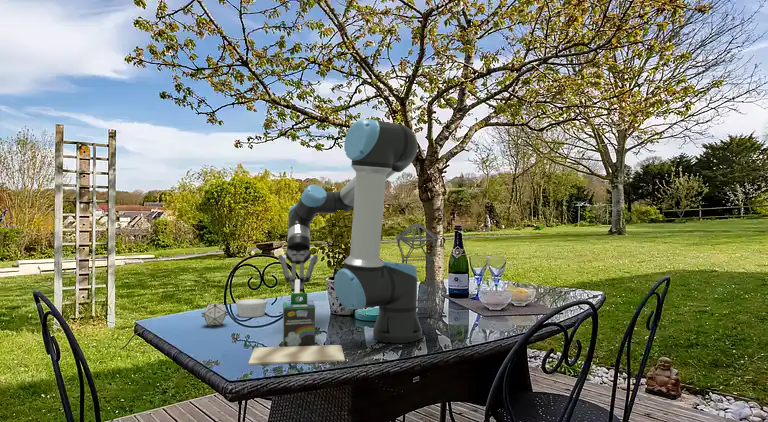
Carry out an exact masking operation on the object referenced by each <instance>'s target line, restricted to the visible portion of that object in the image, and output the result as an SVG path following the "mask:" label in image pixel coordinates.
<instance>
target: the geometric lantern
mask: <svg viewBox="0 0 768 422" xmlns="http://www.w3.org/2000/svg"><path fill="white" fill-rule="evenodd" d="M413 229H414V231H413V235H412V237H411V236H410V237H408V236H407V235H408V234H409V233H410V231H412V230H413ZM421 230H423V232H425V233H426V234H427V235H423V236H422V234H421ZM416 233H418V237H416ZM394 238H395V239H396V243H397V247H398V249H399V252H400V254H401V263H403V264H408V261H426V280H427V281H426V284H427V286H426V288H427V290H426V291H427V292H426V296H427V297H426V299H425V298H424V299H421V298H420V299H417V302H426V303H425V305H421V306H419V305H417V309H423V311H417V314H426V313H428V314H427V316H428V315H429V314H430V315H431V316H432V311H433V309H435V308H436V307H437V306H438V304H437V291H436V281H435V280H436V279H435V269H434V253H435V248H437V244H438V240H440V239H441V237H439V236H437V235H436V234H435V233H434V232H432V231H430V229H428V228H427V227H425V226H424V225H423V224H421V223H417V222H414V223H413V224H411V225H409V227H407V228H406V229H404V230H403V231H402V232H400V233H399V234H397V235H396V236H395V237H394ZM423 238H425V239H423ZM400 241H402V242H403V243H405V244H406V245H408V247H410V248H409V250H408V252H407V253H406V256H405V255H404V252H403V249H402V247H401V244H400ZM414 242H419V244H418V243H417V244H415V243H414ZM425 242H426V243H425ZM424 243H425V244H424ZM430 243H433V245H432V249H431V253H430V256H429V255H428V253H427V252H426V251H425V249H424V247H425V246H427V245H428V244H430ZM415 246H416V247H415ZM415 249H421V250H422V252H423V253H424V255H425V256H423V255H422V256H421V255H420V256H411V254H412V253H413V251H414V250H415ZM409 258H410V259H409ZM411 258H413V259H411ZM414 258H416V259H414ZM417 258H419V259H417ZM420 258H423V259H420ZM428 302H430V304H429V305H428ZM424 311H425V312H424ZM427 311H428V312H427Z"/></svg>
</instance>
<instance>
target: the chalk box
mask: <svg viewBox="0 0 768 422" xmlns="http://www.w3.org/2000/svg"><path fill="white" fill-rule="evenodd" d="M296 297H300V298H302V300H300V301H296V300H295V299H296ZM282 323H283V324H282V327H283V328H282V330H283V335H282V337H283V340H282V342H283V343H282V345H283V346H282V347H291V346H316V306H315V302H314V301H313V300H308V293H307V292H300V293H295V292H293V293H291V295H290V301H285V302H283V303H282Z"/></svg>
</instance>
